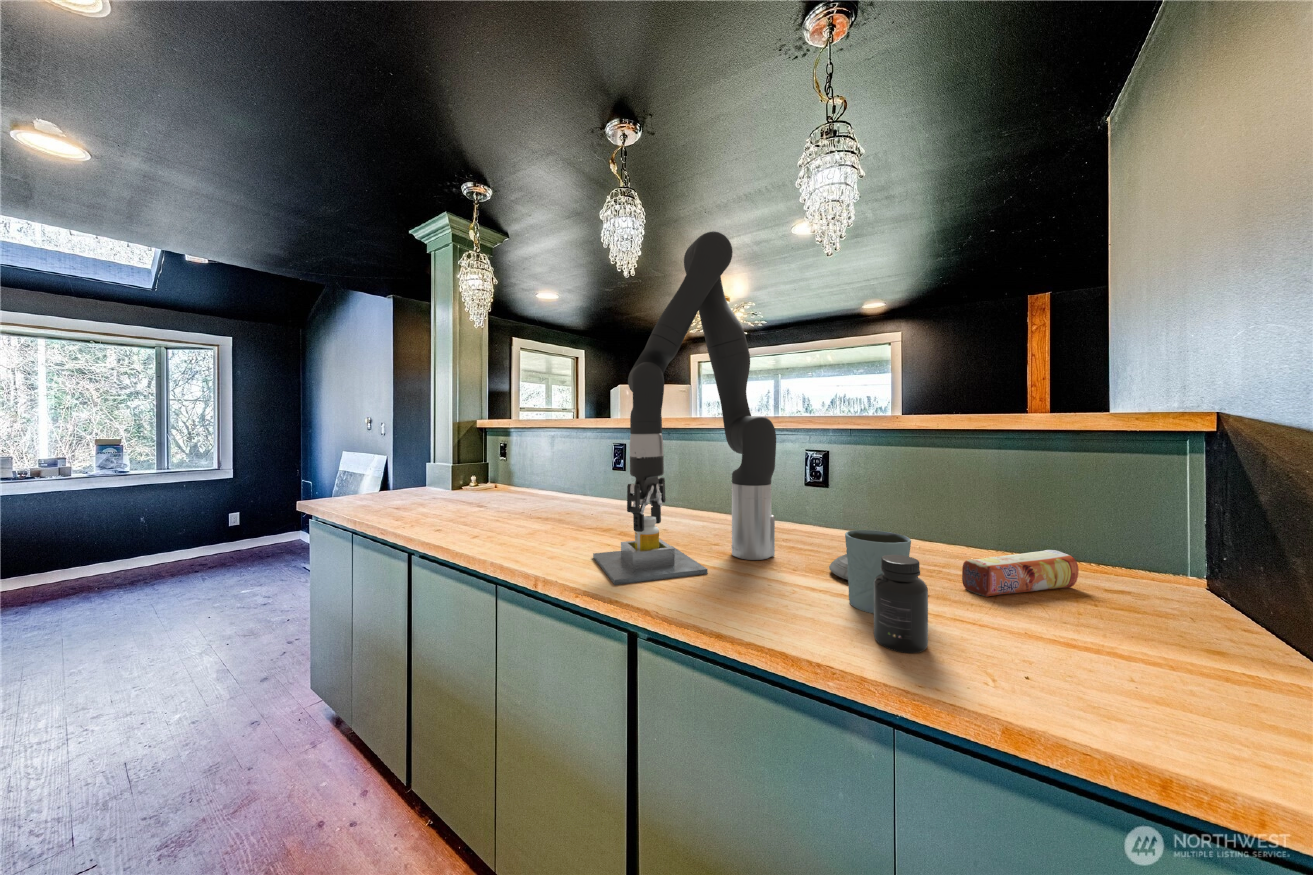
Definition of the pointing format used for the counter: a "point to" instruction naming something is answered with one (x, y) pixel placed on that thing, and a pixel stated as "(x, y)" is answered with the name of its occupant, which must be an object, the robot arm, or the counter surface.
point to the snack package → (1019, 573)
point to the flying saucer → (840, 567)
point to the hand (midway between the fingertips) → (647, 527)
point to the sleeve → (647, 564)
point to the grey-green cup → (869, 562)
